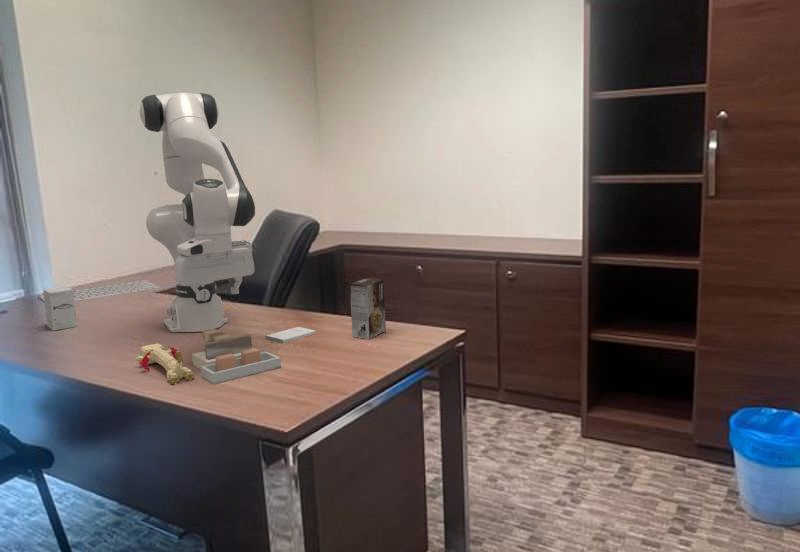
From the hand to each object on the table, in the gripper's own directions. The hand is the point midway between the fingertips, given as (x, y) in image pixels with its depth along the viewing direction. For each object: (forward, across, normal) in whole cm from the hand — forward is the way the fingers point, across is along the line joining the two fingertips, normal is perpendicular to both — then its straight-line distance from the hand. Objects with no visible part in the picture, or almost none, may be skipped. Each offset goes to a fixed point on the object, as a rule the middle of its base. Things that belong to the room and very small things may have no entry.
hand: (218, 296), depth 177 cm
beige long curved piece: (+18, +14, -4) cm, 23 cm away
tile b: (+15, -3, +9) cm, 18 cm away
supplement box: (+19, +23, -73) cm, 79 cm away
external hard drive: (+18, -25, -9) cm, 33 cm away
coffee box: (+18, -43, +6) cm, 47 cm away
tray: (+17, 0, +11) cm, 21 cm away
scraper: (+14, 0, -2) cm, 15 cm away
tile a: (+15, +3, +8) cm, 17 cm away
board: (+17, 0, +2) cm, 18 cm away
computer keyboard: (+21, -2, -122) cm, 124 cm away
